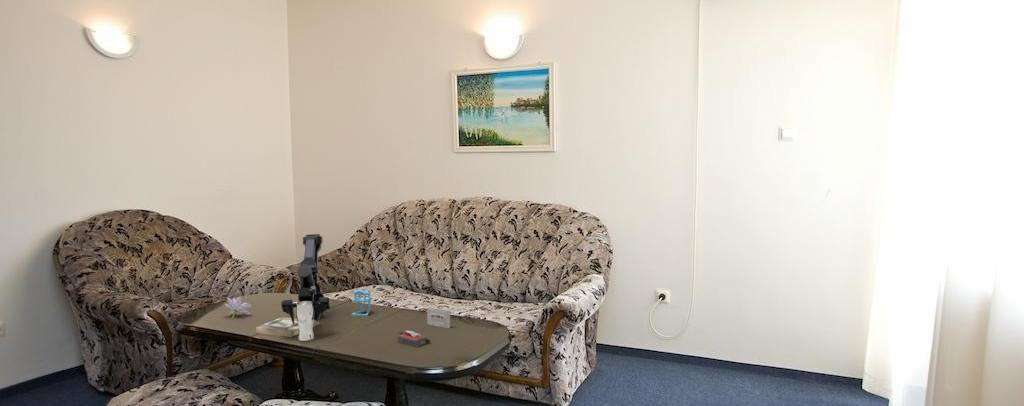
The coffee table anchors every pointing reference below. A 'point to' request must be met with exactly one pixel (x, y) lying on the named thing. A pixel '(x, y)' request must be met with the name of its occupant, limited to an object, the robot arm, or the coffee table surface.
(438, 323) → the cassette
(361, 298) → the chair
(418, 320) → the coffee table surface
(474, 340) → the coffee table surface
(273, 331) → the dock
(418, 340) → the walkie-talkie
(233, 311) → the water lily
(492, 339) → the coffee table surface
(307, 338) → the beer glass
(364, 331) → the coffee table surface
